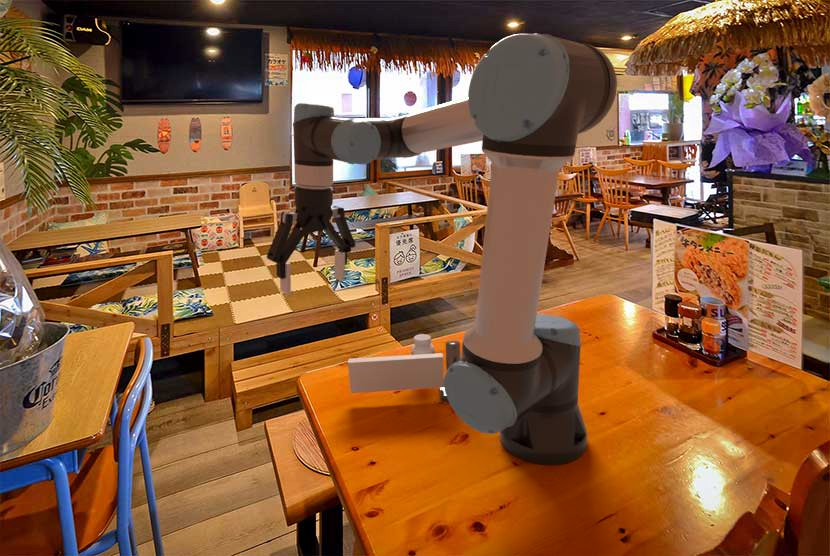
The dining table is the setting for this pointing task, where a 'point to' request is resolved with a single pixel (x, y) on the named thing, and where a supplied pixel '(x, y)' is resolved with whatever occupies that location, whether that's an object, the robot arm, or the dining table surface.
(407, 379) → the swing arm
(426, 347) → the supplement bottle
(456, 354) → the post
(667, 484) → the dining table surface
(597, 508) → the dining table surface
